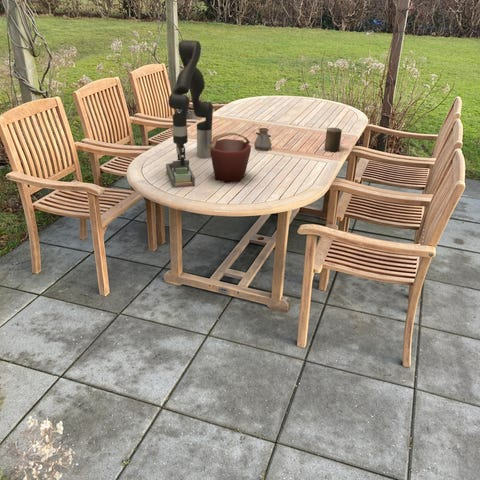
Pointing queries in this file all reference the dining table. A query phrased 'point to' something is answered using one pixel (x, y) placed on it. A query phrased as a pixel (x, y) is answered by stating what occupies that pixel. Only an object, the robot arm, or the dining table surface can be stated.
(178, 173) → the box
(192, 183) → the bay
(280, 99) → the dining table surface
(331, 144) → the pillar candle
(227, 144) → the bucket
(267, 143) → the coffee pot
